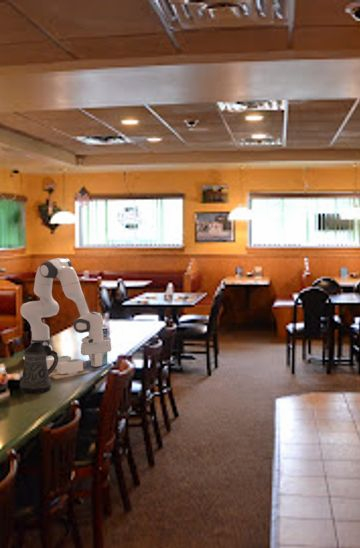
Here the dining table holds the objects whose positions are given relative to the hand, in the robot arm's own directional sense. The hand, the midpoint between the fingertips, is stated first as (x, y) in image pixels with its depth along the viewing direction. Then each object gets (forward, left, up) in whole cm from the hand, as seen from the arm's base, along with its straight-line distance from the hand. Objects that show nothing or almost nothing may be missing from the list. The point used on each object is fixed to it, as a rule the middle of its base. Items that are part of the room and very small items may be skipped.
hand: (96, 360), depth 388 cm
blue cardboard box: (-11, +8, -4) cm, 14 cm away
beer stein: (+25, -52, -4) cm, 58 cm away
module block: (0, 0, -3) cm, 3 cm away
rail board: (+1, -23, -4) cm, 23 cm away
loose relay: (-7, -7, -4) cm, 11 cm away
